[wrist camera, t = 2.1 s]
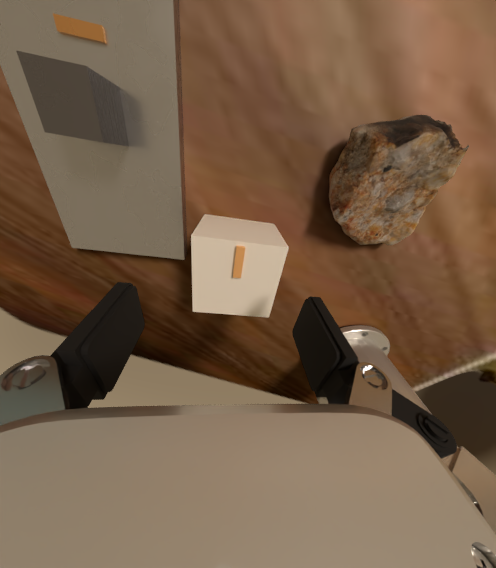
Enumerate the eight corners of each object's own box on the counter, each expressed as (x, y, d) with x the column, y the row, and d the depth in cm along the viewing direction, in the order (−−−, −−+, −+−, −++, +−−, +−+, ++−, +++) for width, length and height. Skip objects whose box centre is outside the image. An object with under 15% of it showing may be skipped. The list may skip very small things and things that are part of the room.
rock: (318, 139, 15) (323, 259, 18) (389, 94, 9) (375, 276, 13) (405, 126, 16) (393, 239, 20) (509, 80, 11) (466, 247, 15)
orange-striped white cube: (261, 281, 21) (269, 319, 16) (203, 275, 20) (191, 313, 15) (274, 223, 18) (289, 249, 13) (204, 214, 17) (190, 236, 12)
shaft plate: (187, 254, 19) (176, 275, 16) (81, 242, 18) (43, 262, 14) (178, -3, 10) (148, -87, 7) (-27, -60, 9) (-189, -196, 6)
